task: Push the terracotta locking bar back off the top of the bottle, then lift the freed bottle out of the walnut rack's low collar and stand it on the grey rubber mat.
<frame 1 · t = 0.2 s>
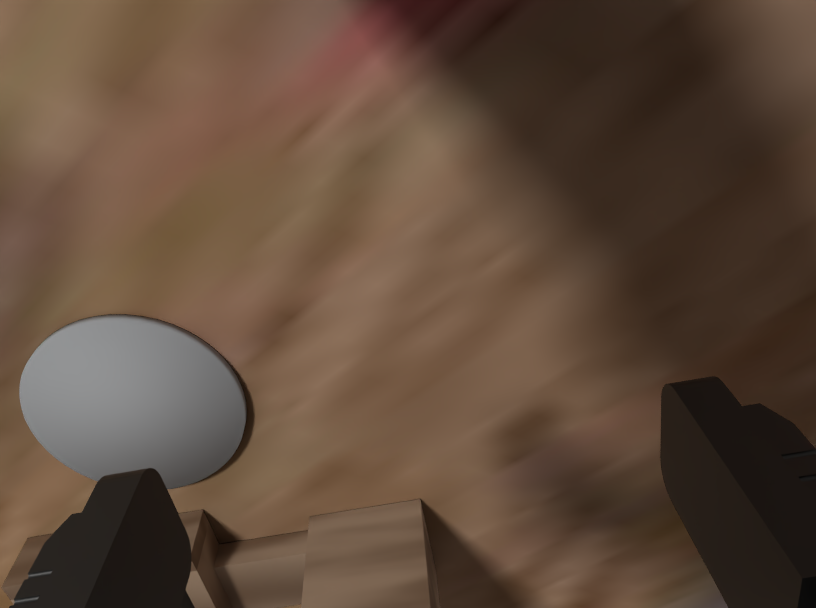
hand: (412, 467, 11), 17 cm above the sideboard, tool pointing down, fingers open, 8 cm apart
mat: (138, 405, 31), on the sideboard
rack: (147, 581, 38), on the sideboard
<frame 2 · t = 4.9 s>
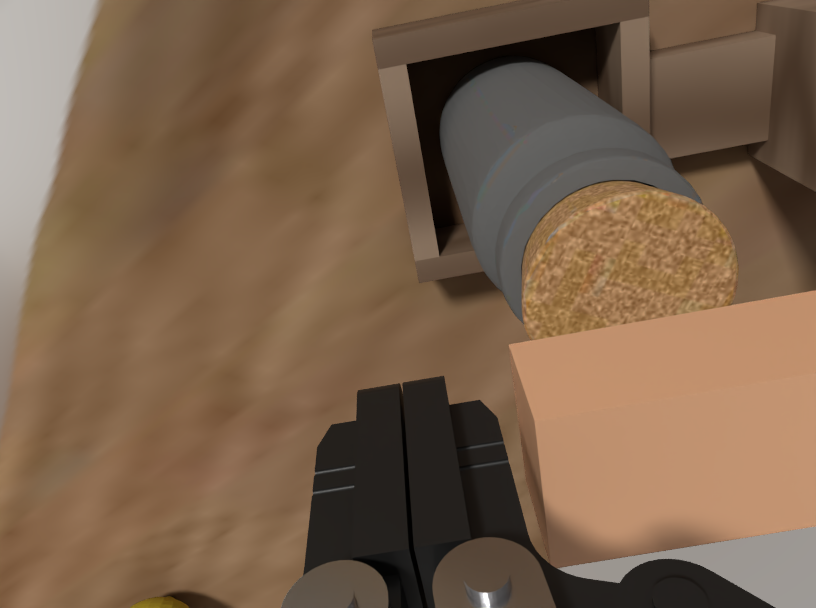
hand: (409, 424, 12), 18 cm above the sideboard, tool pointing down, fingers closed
bottle: (507, 127, 28), resting in rack
rack: (508, 129, 28), on the sideboard
lemon: (170, 595, 40), on the sideboard
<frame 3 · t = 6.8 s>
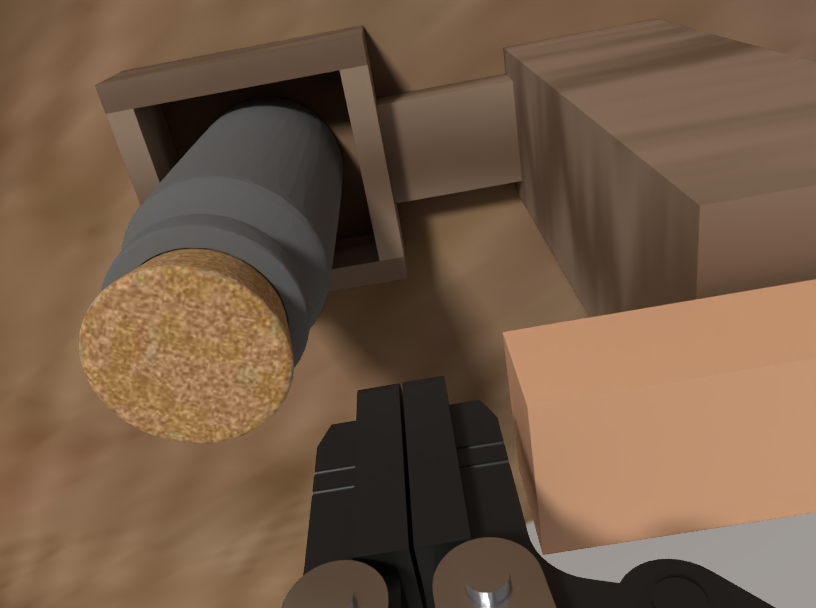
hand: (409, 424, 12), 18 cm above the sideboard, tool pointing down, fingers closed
bottle: (275, 165, 28), resting in rack
rack: (274, 166, 28), on the sideboard
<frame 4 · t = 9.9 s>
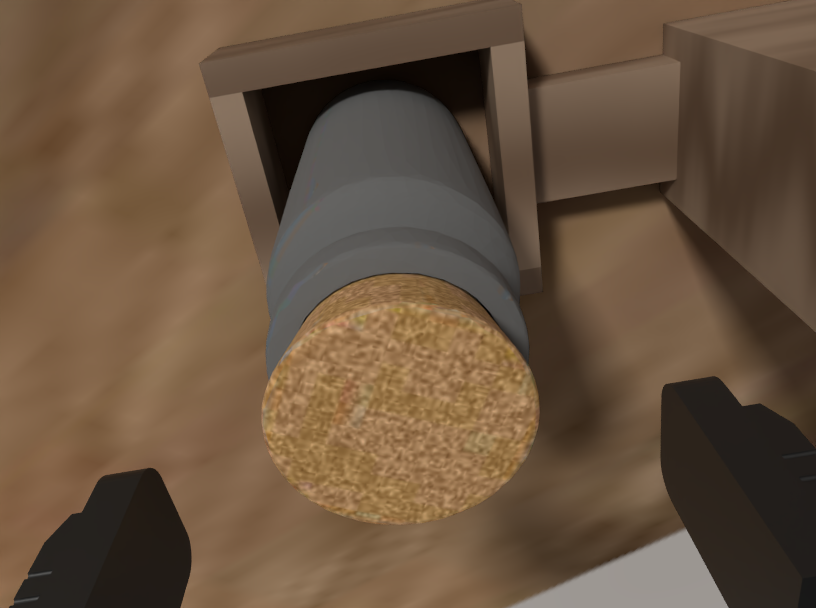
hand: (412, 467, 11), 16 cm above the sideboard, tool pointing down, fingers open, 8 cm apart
bottle: (385, 159, 25), resting in rack
rack: (386, 161, 24), on the sideboard
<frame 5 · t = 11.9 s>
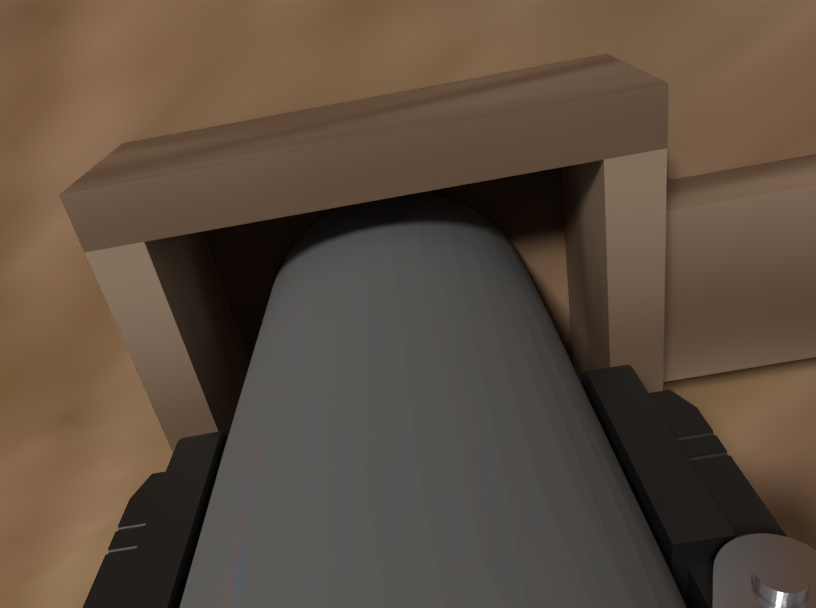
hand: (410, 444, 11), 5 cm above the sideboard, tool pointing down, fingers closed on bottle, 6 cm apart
bottle: (401, 306, 15), resting in rack, touching gripper
rack: (403, 311, 15), on the sideboard
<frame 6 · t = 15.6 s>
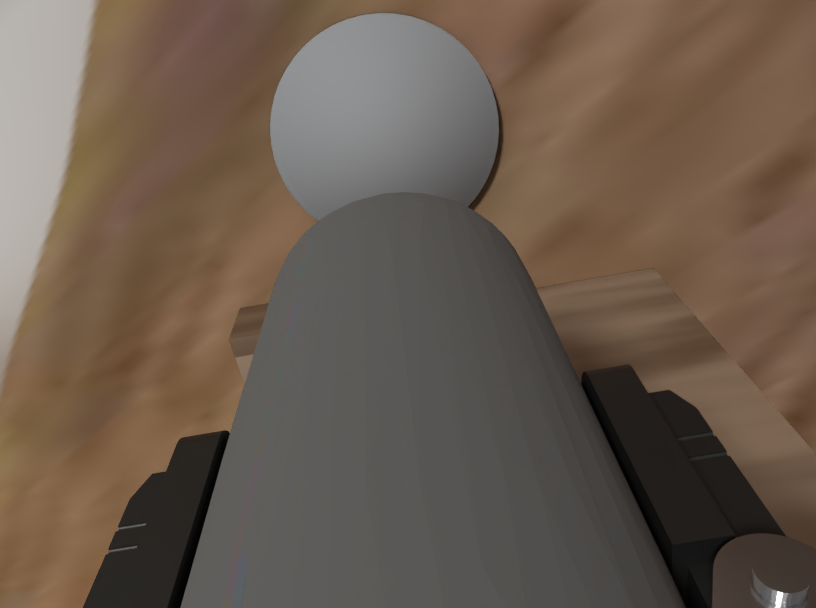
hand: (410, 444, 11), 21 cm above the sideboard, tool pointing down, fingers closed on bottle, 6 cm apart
bottle: (402, 308, 15), point 16 cm above the sideboard, touching gripper
mat: (385, 134, 30), on the sideboard
rack: (352, 370, 36), on the sideboard
when the fingers open (6 cm above the sideboard, at t = 19.3 s): bottle stays where it is, resting on mat.
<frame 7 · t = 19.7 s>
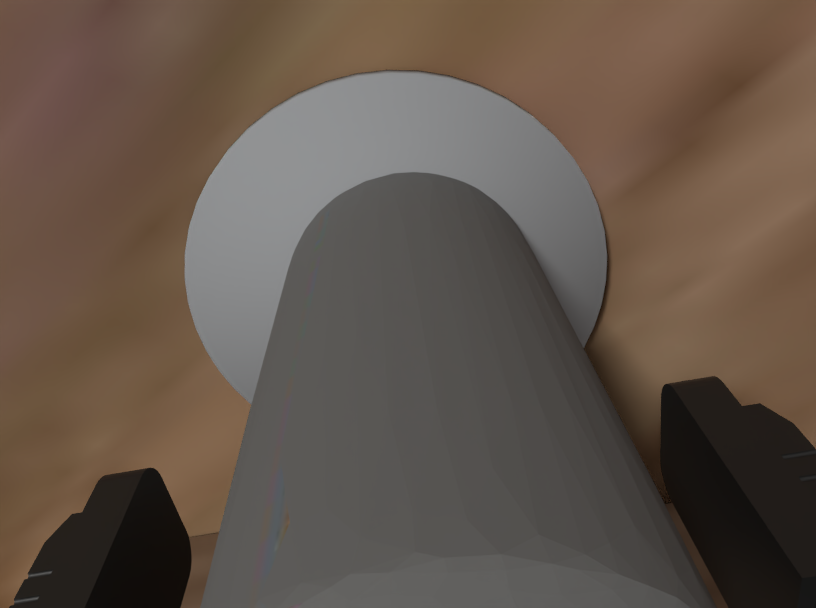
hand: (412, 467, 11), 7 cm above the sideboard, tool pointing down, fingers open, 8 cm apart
bottle: (410, 284, 16), resting on mat
mat: (398, 282, 16), on the sideboard
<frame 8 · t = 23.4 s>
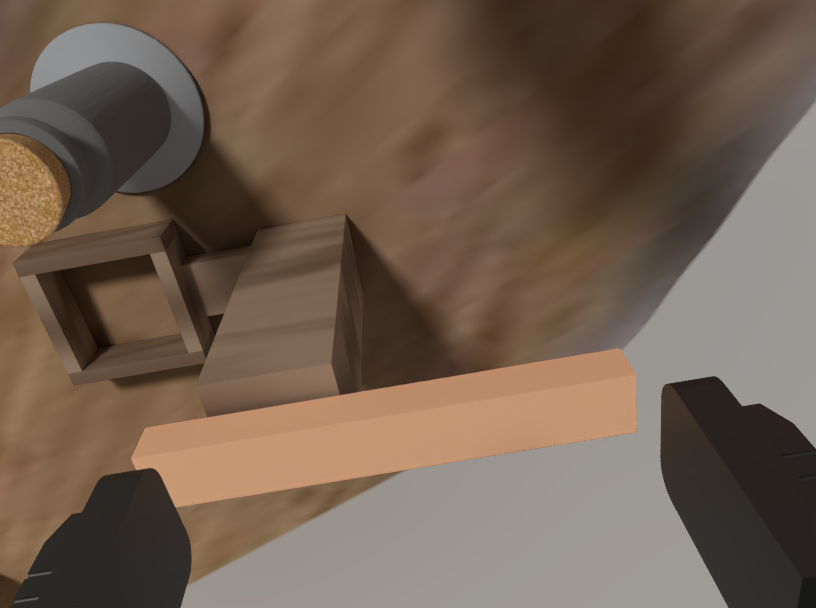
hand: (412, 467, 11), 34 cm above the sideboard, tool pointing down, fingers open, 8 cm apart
bottle: (123, 110, 40), resting on mat
locking bar: (386, 430, 29), point 19 cm above the sideboard, slide at 12.3 cm
mat: (120, 111, 41), on the sideboard
rack: (129, 294, 47), on the sideboard
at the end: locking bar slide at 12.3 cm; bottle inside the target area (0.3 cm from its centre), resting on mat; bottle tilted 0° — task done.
